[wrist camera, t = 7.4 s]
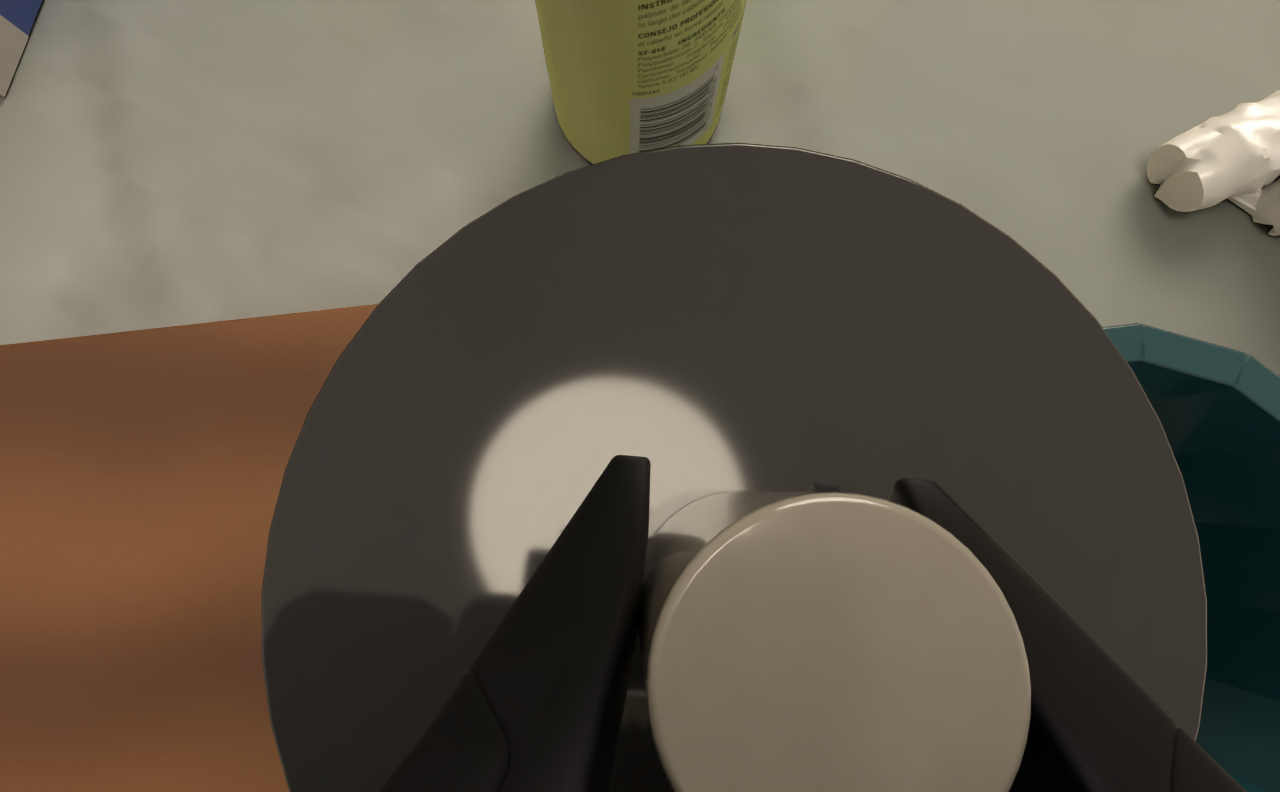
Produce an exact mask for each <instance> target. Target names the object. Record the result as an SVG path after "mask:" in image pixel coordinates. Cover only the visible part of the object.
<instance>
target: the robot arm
mask: <svg viewBox="0 0 1280 792" xmlns="http://www.w3.org/2000/svg"><path fill="white" fill-rule="evenodd" d="M650 468H651V465H650V460H649V459H648V458H647V457H641V456H629V455H617V456H614V457H613V458H612V459H611V461H610V462H609V464H608V465H607V467H606V468H605V470H604V471H603V473H602V474H601V475H600V477H599V478H598V480H597V481H596V483H595V484H594V486H593V487H592V489H591V490H590V492H589V493H588V495H587V496H586V498H585V499H584V501H583V502H582V503H581V505H580V506H579V508H578V509H577V511H576V512H575V514H574V515H573V517H572V518H571V520H570V521H569V523H568V524H567V526H566V527H565V528H564V530H563V531H562V533H561V534H560V536H559V537H558V539H557V540H556V542H555V543H554V545H553V546H552V548H551V549H550V551H549V552H548V554H547V555H546V556H545V558H544V559H543V561H542V562H541V564H540V565H539V567H538V568H537V570H536V571H535V573H534V574H533V576H532V577H531V579H530V580H529V581H528V583H527V584H526V586H525V587H524V589H523V590H522V592H521V593H520V595H519V596H518V598H517V599H516V601H515V602H514V604H513V605H512V607H511V608H510V609H509V611H508V612H507V614H506V615H505V617H504V618H503V620H502V621H501V623H500V624H499V626H498V627H497V629H496V630H495V632H494V633H493V634H492V636H491V637H490V639H489V640H488V642H487V643H486V645H485V646H484V648H483V649H482V651H481V652H480V654H479V655H478V657H477V658H476V659H475V661H474V662H473V664H472V665H471V667H470V673H467V674H465V675H464V677H463V678H462V679H461V681H460V682H459V684H458V685H457V687H456V688H455V690H454V691H453V693H452V694H451V696H450V697H449V699H448V700H447V702H446V703H445V704H444V706H443V707H442V709H441V710H440V711H439V713H438V714H437V715H436V717H435V718H434V719H433V721H432V722H431V724H430V725H429V726H428V728H427V729H426V730H425V732H424V733H423V735H422V736H421V737H420V739H419V740H418V741H417V743H416V744H415V746H414V747H413V748H412V749H411V751H410V752H409V753H408V754H407V755H406V757H405V758H404V759H403V760H402V762H401V763H400V764H399V765H398V766H397V768H396V769H395V770H394V771H393V772H392V774H391V775H390V776H389V777H388V779H387V780H386V781H385V782H384V783H383V785H382V786H381V787H380V788H379V789H378V791H377V792H608V787H609V782H610V777H611V772H612V767H613V762H614V756H615V751H616V746H617V741H618V736H619V731H620V725H621V720H622V715H623V710H624V705H625V700H626V694H627V689H628V684H629V679H630V674H631V669H632V663H633V657H634V651H635V644H636V635H637V627H638V618H639V610H640V602H641V593H642V585H643V576H644V568H645V559H646V551H647V542H648V531H649V505H650ZM888 501H891V502H894V503H897V504H900V505H903V506H905V507H908V508H910V509H912V510H914V511H916V512H918V513H920V514H922V515H924V516H926V517H928V518H930V519H931V520H933V521H934V522H936V523H937V524H939V525H940V526H942V527H943V528H945V529H946V530H948V531H949V532H951V533H952V534H953V535H954V536H955V537H956V538H957V539H959V540H960V541H961V542H962V543H963V544H964V545H965V546H967V547H968V548H969V549H970V550H971V551H972V552H973V554H974V555H975V556H976V557H977V558H978V559H979V560H980V561H981V563H982V564H983V565H984V566H985V567H986V568H987V570H988V571H989V573H990V574H991V576H992V577H993V578H994V580H995V581H996V583H997V584H998V586H999V587H1000V589H1001V590H1002V592H1003V594H1004V596H1005V598H1006V600H1007V602H1008V604H1009V606H1010V608H1011V610H1012V612H1013V614H1014V617H1015V620H1016V622H1017V625H1018V628H1019V630H1020V633H1021V636H1022V639H1023V643H1024V647H1025V652H1026V656H1027V660H1028V665H1029V674H1030V684H1031V716H1030V723H1029V730H1028V737H1027V742H1026V746H1025V750H1024V753H1023V757H1022V760H1021V764H1020V767H1019V769H1018V772H1017V774H1016V776H1015V779H1014V781H1013V783H1012V786H1011V788H1010V790H1009V792H1247V791H1246V790H1245V789H1244V788H1243V787H1242V786H1241V785H1239V784H1238V783H1237V782H1236V781H1235V780H1234V779H1233V778H1232V777H1231V776H1230V775H1229V774H1228V773H1227V772H1226V771H1225V770H1224V769H1223V768H1222V767H1221V766H1220V765H1219V764H1218V763H1217V762H1216V761H1215V760H1214V759H1213V758H1212V757H1211V756H1210V755H1209V754H1208V753H1207V752H1206V751H1205V750H1204V749H1203V748H1202V747H1201V746H1200V745H1199V744H1198V743H1197V742H1196V741H1195V740H1194V739H1193V738H1192V737H1191V736H1190V735H1189V734H1188V733H1187V732H1186V731H1185V730H1183V729H1180V728H1178V729H1176V722H1175V721H1174V720H1173V719H1172V718H1171V717H1170V716H1169V715H1168V714H1167V713H1166V712H1165V711H1164V710H1163V709H1162V708H1161V707H1160V706H1159V705H1158V704H1157V703H1156V702H1155V701H1154V700H1153V699H1152V698H1151V697H1150V696H1149V695H1148V694H1147V693H1146V692H1145V691H1144V690H1143V689H1142V688H1141V687H1140V686H1139V685H1138V684H1137V683H1136V682H1135V681H1134V680H1133V679H1132V678H1131V677H1130V676H1129V675H1128V674H1127V673H1126V672H1125V671H1124V670H1123V669H1122V668H1121V667H1120V666H1119V665H1118V664H1117V663H1116V662H1115V661H1114V660H1113V659H1112V658H1111V657H1110V656H1109V655H1108V654H1107V653H1106V652H1105V651H1104V650H1103V649H1102V648H1101V647H1100V646H1099V645H1098V644H1097V643H1096V642H1095V641H1094V640H1093V639H1092V638H1091V637H1090V636H1089V635H1088V634H1087V633H1086V632H1085V631H1084V630H1083V629H1082V628H1081V627H1080V626H1079V625H1078V624H1077V623H1076V622H1075V621H1074V620H1073V619H1072V618H1071V617H1070V616H1069V615H1068V614H1067V613H1066V612H1065V611H1064V610H1063V609H1062V608H1061V607H1060V606H1059V605H1058V604H1057V603H1056V602H1055V601H1054V600H1053V599H1052V598H1051V597H1050V596H1049V595H1048V594H1047V593H1046V592H1045V591H1044V590H1043V589H1042V588H1041V587H1040V586H1039V585H1038V584H1037V583H1036V582H1035V581H1034V580H1033V579H1032V578H1031V577H1030V576H1029V575H1028V574H1027V573H1026V572H1025V571H1024V570H1023V569H1022V568H1021V567H1020V566H1019V565H1018V564H1017V563H1016V562H1015V561H1014V560H1013V559H1012V558H1011V557H1010V556H1009V555H1008V554H1007V553H1006V552H1005V551H1004V550H1003V549H1002V548H1001V547H1000V546H999V545H998V544H997V543H996V542H995V541H994V540H993V539H992V538H991V537H990V536H989V535H988V534H987V533H986V532H985V531H984V530H983V529H982V528H981V527H980V526H979V525H978V524H977V523H976V522H975V521H974V520H973V519H972V518H971V517H970V516H969V515H968V514H967V513H966V512H965V511H964V510H963V509H962V508H961V507H960V506H959V505H958V504H957V503H956V502H955V501H954V500H953V499H952V498H951V497H950V496H949V495H948V494H947V493H946V492H945V491H944V490H943V489H942V488H941V487H940V486H939V485H938V484H937V483H935V482H933V481H930V480H922V479H910V478H901V479H899V480H897V481H896V482H895V483H894V485H893V487H892V489H891V492H890V495H889V497H888Z"/></svg>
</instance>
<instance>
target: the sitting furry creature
mask: <svg viewBox="0 0 1280 792" xmlns="http://www.w3.org/2000/svg"><path fill="white" fill-rule="evenodd" d="M1279 175H1280V89H1279V90H1277V91H1276V92H1274V93H1273V94H1271V95H1270V96H1268V97H1267V98H1266V99H1263V100H1261V101H1258V102H1256V103H1239V104H1238V105H1237V106H1236V107H1235V108H1234V109H1233V110H1232V111H1230V112H1228V113H1226V114H1224V115H1222V116H1215V117H1211V118H1209V119H1208V120H1207V121H1206V122H1204V123H1202V124H1200V125H1198V126H1196V127H1194V128H1192V129H1190V130H1188V131H1186V132H1184V133H1182V134H1180V135H1177V136H1176V137H1174V138H1172V139H1171V140H1169V141H1168V142H1166V143H1165V144H1163V145H1161V146H1160V147H1158V148H1157V149H1156V150H1155V151H1154V152H1153V153H1152V154H1151V156H1150V158H1149V160H1148V164H1147V176H1148V179H1149V180H1150V182H1151V183H1153V184H1161V185H1160V187H1159V189H1158V190H1157V192H1156V194H1155V196H1154V197H1156V198H1158V199H1160V200H1161V201H1162V202H1164V203H1165V204H1166V205H1167V206H1168V207H1170V208H1171V209H1174V210H1176V211H1185V212H1190V211H1195V210H1200V209H1205V208H1209V207H1212V206H1214V205H1216V204H1218V203H1219V202H1221V201H1223V200H1225V199H1229V200H1230V201H1232V202H1233V203H1234V204H1236V205H1237V206H1239V207H1240V208H1242V209H1243V210H1245V211H1246V212H1247V213H1249V214H1250V215H1252V218H1253V222H1256V223H1261V224H1267V225H1273V228H1272V229H1271V230H1270V232H1269V233H1268V234H1269V235H1271V236H1278V235H1280V178H1279V180H1277V181H1275V182H1272V181H1274V180H1275V179H1276V178H1277V177H1278V176H1279ZM1264 185H1266V186H1265V187H1263V186H1264ZM1262 187H1263V188H1262Z"/></svg>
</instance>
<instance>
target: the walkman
mask: <svg viewBox="0 0 1280 792" xmlns="http://www.w3.org/2000/svg"><path fill="white" fill-rule="evenodd" d="M41 2H42V0H0V96H2V97H5V95H6V93H7V90H8V88H9V85H10V83H11V80H12V78H13V75H14V73H15V70H16V68H17V65H18V63H19V60H20V58H21V55H22V53H23V50H24V48H25V45H26V43H27V40H28V38H29V36H28V35H29V33H30V30H31V28H32V25H33V23H34V20H35V18H36V15H37V12H38V10H39V7H40V5H41Z"/></svg>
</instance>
